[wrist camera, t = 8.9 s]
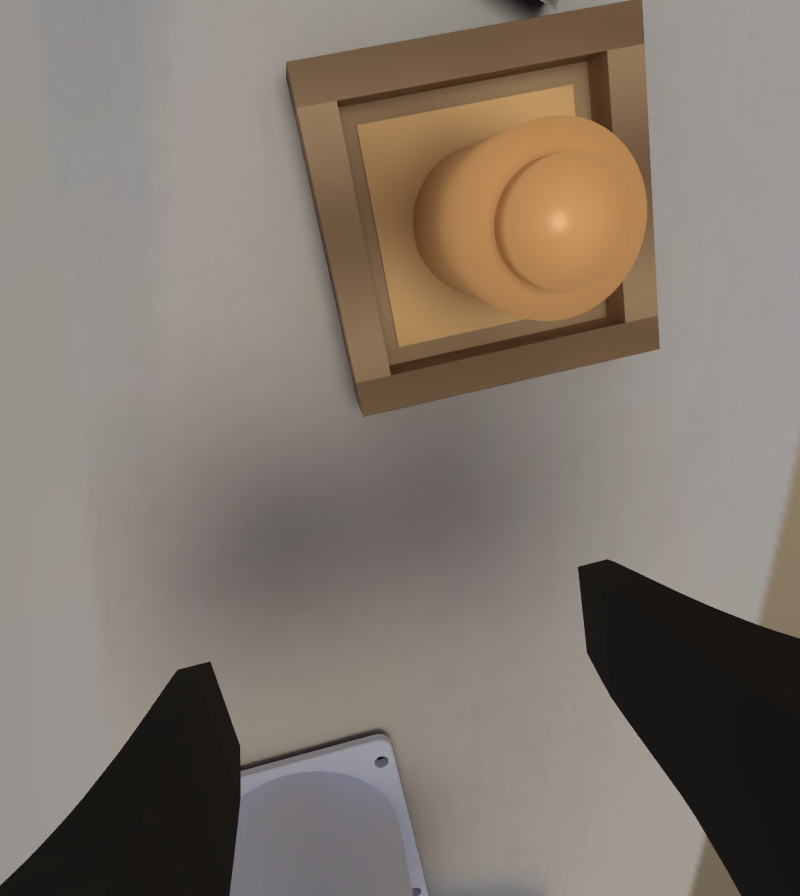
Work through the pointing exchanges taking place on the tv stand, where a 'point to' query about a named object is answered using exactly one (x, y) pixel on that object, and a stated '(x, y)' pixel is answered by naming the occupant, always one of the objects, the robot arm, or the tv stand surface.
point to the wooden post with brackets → (551, 3)
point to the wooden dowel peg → (534, 217)
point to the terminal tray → (413, 157)
